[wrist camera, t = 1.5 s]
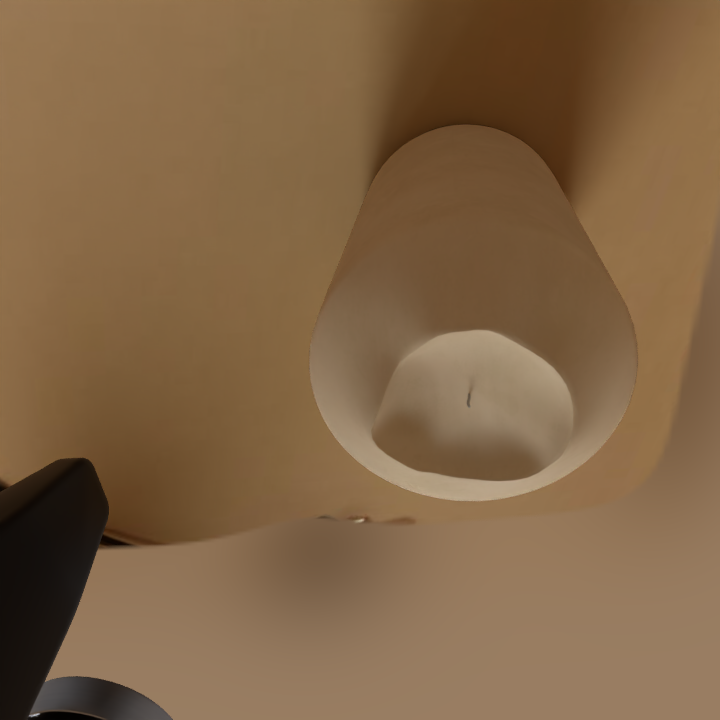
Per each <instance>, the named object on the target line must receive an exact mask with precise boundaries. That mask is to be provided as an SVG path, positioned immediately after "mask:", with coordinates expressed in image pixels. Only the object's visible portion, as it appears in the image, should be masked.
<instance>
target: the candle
mask: <svg viewBox="0 0 720 720" xmlns="http://www.w3.org/2000/svg"><path fill="white" fill-rule="evenodd" d="M637 367H638V352H637V340H636V335H635V330H634V325H633V322H632V319H631V317H630V314H629V311H628V308H627V306H626V304H625V302H624V300H623V298H622V297H621V295H620V293H619V291H618V289H617V288H616V286H615V284H614V282H613V280H612V279H611V277H610V275H609V273H608V271H607V270H606V268H605V266H604V264H603V262H602V261H601V259H600V257H599V255H598V253H597V252H596V250H595V248H594V246H593V244H592V243H591V241H590V239H589V237H588V236H587V234H586V232H585V230H584V228H583V227H582V225H581V223H580V221H579V219H578V218H577V216H576V214H575V212H574V210H573V209H572V207H571V205H570V203H569V202H568V200H567V198H566V196H565V194H564V193H563V191H562V189H561V187H560V185H559V184H558V182H557V180H556V178H555V176H554V175H553V173H552V172H551V170H550V169H549V167H548V166H547V165H546V163H545V162H544V161H543V159H542V158H541V157H540V156H539V155H538V154H537V153H536V152H535V151H534V150H533V149H532V148H531V147H530V146H528V145H527V144H525V143H524V142H523V141H521V140H520V139H518V138H516V137H514V136H512V135H511V134H509V133H506V132H503V131H501V130H498V129H495V128H491V127H486V126H481V125H469V124H464V125H451V126H446V127H441V128H438V129H435V130H432V131H429V132H426V133H424V134H422V135H420V136H418V137H416V138H414V139H412V140H411V141H409V142H408V143H406V144H405V145H403V146H402V147H401V148H399V149H398V150H397V151H396V152H395V153H394V154H393V155H391V157H390V158H389V159H388V160H387V161H386V162H385V163H384V165H383V166H382V167H381V169H380V170H379V172H378V173H377V175H376V176H375V178H374V180H373V182H372V184H371V186H370V188H369V190H368V192H367V194H366V196H365V199H364V201H363V204H362V206H361V209H360V211H359V214H358V216H357V219H356V221H355V224H354V226H353V229H352V231H351V234H350V236H349V239H348V241H347V244H346V246H345V249H344V251H343V254H342V256H341V259H340V261H339V264H338V266H337V269H336V271H335V274H334V276H333V279H332V281H331V284H330V286H329V289H328V291H327V294H326V296H325V299H324V301H323V304H322V306H321V309H320V311H319V314H318V317H317V320H316V323H315V326H314V330H313V333H312V339H311V345H310V353H309V370H310V378H311V385H312V389H313V393H314V397H315V400H316V404H317V406H318V408H319V410H320V413H321V415H322V417H323V419H324V421H325V423H326V424H327V426H328V428H329V429H330V431H331V432H332V434H333V435H334V437H335V438H336V439H337V440H338V442H339V443H340V444H341V445H342V447H343V448H344V449H345V450H346V451H347V452H348V453H349V454H350V455H351V456H352V457H353V458H355V459H356V460H357V461H358V462H359V463H360V464H362V465H363V466H364V467H366V468H367V469H368V470H370V471H371V472H373V473H374V474H376V475H378V476H379V477H381V478H383V479H384V480H386V481H388V482H390V483H392V484H395V485H397V486H399V487H401V488H404V489H406V490H409V491H412V492H415V493H418V494H421V495H426V496H430V497H435V498H440V499H448V500H456V501H485V500H497V499H502V498H508V497H513V496H517V495H521V494H524V493H527V492H531V491H534V490H537V489H539V488H542V487H544V486H546V485H549V484H551V483H553V482H555V481H557V480H559V479H560V478H562V477H564V476H566V475H568V474H569V473H571V472H572V471H574V470H575V469H576V468H578V467H579V466H581V465H582V464H583V463H585V462H586V461H587V460H588V459H589V458H590V457H592V456H593V455H594V454H595V453H596V452H597V451H598V450H599V449H600V448H601V447H602V446H603V444H604V443H605V442H606V441H607V440H608V439H609V437H610V436H611V435H612V434H613V432H614V431H615V429H616V427H617V426H618V424H619V423H620V421H621V420H622V418H623V416H624V413H625V411H626V409H627V407H628V405H629V403H630V400H631V396H632V393H633V389H634V386H635V382H636V374H637Z"/></svg>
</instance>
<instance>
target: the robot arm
mask: <svg viewBox="0 0 720 720" xmlns="http://www.w3.org/2000/svg"><path fill="white" fill-rule="evenodd" d="M108 515H109V505H108V501H107V498H106V495H105V493H104V490H103V488H102V485H101V483H100V481H99V478H98V476H97V473H96V471H95V468H94V466H93V464H92V463H91V462H90V461H89V460H88V459H86V458H68V459H60V460H57V461H55V462H53V463H51V464H49V465H48V466H46V467H44V468H42V469H41V470H39V471H37V472H35V473H33V474H32V475H30V476H28V477H26V478H25V479H23V480H21V481H19V482H17V483H16V484H14V485H12V486H10V487H9V488H7V489H5V490H3V491H2V492H0V720H27V719H28V717H29V715H30V712H31V710H32V708H33V706H34V704H35V701H36V699H37V697H38V695H39V693H40V691H41V688H42V686H43V684H44V682H45V680H46V677H47V675H48V673H49V671H50V669H51V666H52V664H53V662H54V660H55V658H56V655H57V653H58V651H59V649H60V647H61V645H62V642H63V640H64V638H65V636H66V634H67V631H68V629H69V627H70V625H71V622H72V620H73V617H74V615H75V613H76V610H77V607H78V605H79V602H80V599H81V596H82V593H83V591H84V588H85V585H86V582H87V579H88V576H89V573H90V570H91V567H92V564H93V561H94V558H95V555H96V552H97V549H98V547H99V544H100V541H101V538H102V535H103V532H104V529H105V526H106V523H107V520H108Z"/></svg>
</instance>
